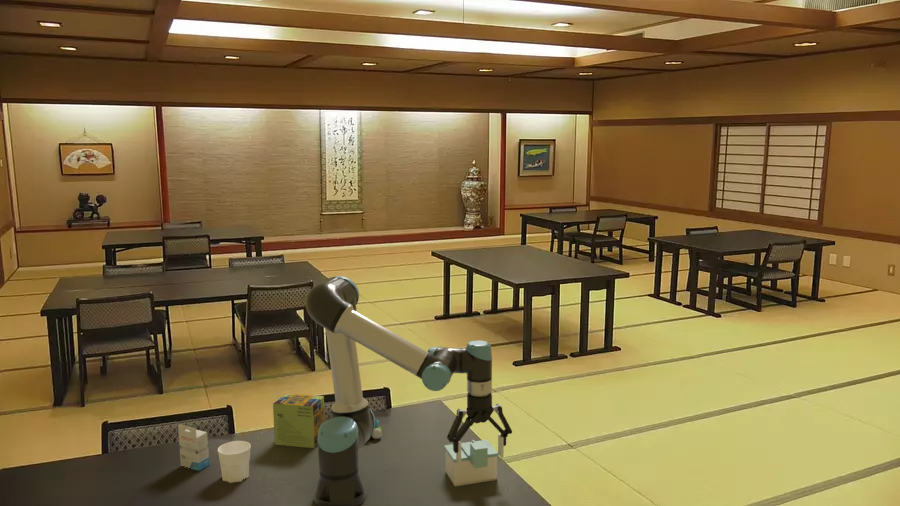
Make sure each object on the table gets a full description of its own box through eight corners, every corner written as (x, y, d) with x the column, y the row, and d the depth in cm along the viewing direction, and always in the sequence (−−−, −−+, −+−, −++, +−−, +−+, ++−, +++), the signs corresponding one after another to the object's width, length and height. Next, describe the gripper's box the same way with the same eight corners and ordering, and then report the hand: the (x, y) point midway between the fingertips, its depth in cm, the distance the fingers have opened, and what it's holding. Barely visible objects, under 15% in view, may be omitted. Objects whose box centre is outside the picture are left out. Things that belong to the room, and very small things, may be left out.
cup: (218, 486, 213) (216, 456, 212) (220, 471, 223) (218, 442, 222) (252, 481, 216) (250, 452, 215) (252, 467, 226) (250, 439, 224)
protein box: (314, 448, 240) (313, 406, 238) (274, 445, 243) (272, 403, 241) (326, 436, 250) (324, 395, 248) (286, 433, 253) (285, 393, 251)
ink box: (210, 465, 227) (207, 423, 225) (198, 471, 223) (195, 428, 221) (191, 460, 231) (189, 418, 229) (180, 466, 227) (177, 423, 225)
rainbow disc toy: (352, 435, 251) (351, 416, 250) (377, 430, 255) (377, 411, 254) (359, 444, 244) (358, 424, 243) (385, 439, 248) (384, 419, 247)
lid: (458, 471, 206) (458, 451, 205) (444, 450, 221) (444, 432, 220) (503, 465, 211) (503, 445, 210) (486, 444, 225) (486, 426, 224)
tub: (454, 486, 212) (454, 461, 211) (445, 471, 222) (445, 448, 221) (497, 479, 216) (497, 455, 215) (486, 466, 226) (486, 443, 225)
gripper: (443, 401, 200) (444, 470, 203) (522, 391, 207) (522, 458, 210) (436, 392, 207) (437, 459, 210) (513, 383, 214) (513, 448, 217)
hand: (480, 459), depth 210 cm, fingers open, 13 cm apart
